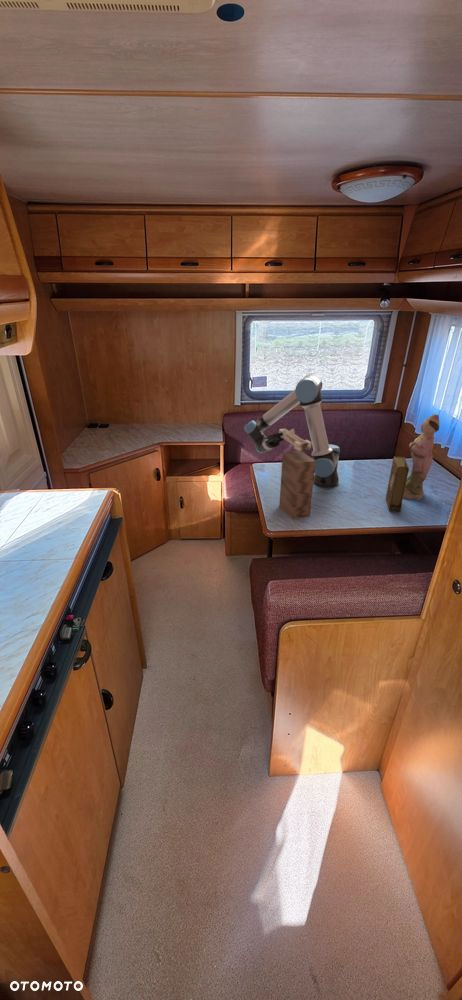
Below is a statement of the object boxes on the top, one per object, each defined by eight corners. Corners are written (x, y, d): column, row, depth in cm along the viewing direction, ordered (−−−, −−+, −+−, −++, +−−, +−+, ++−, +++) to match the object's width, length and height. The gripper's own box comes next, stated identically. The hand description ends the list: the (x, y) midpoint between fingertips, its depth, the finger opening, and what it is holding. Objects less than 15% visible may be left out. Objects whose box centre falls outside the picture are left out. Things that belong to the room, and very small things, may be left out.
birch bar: (287, 434, 225) (288, 428, 223) (310, 449, 204) (311, 442, 203) (275, 435, 222) (275, 429, 221) (297, 450, 202) (298, 443, 201)
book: (385, 498, 238) (393, 455, 227) (395, 498, 237) (404, 456, 226) (388, 511, 223) (397, 467, 212) (399, 512, 222) (409, 467, 211)
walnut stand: (295, 503, 231) (300, 450, 217) (309, 515, 218) (315, 460, 205) (279, 506, 228) (282, 452, 214) (292, 519, 215) (297, 463, 202)
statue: (424, 490, 247) (442, 413, 227) (423, 501, 234) (441, 421, 214) (396, 485, 253) (411, 409, 233) (393, 496, 240) (408, 417, 219)
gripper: (285, 446, 239) (305, 437, 217) (258, 450, 234) (276, 440, 211) (283, 433, 239) (303, 422, 217) (256, 436, 234) (273, 425, 212)
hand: (290, 431), depth 214 cm, fingers closed on birch bar, 3 cm apart
